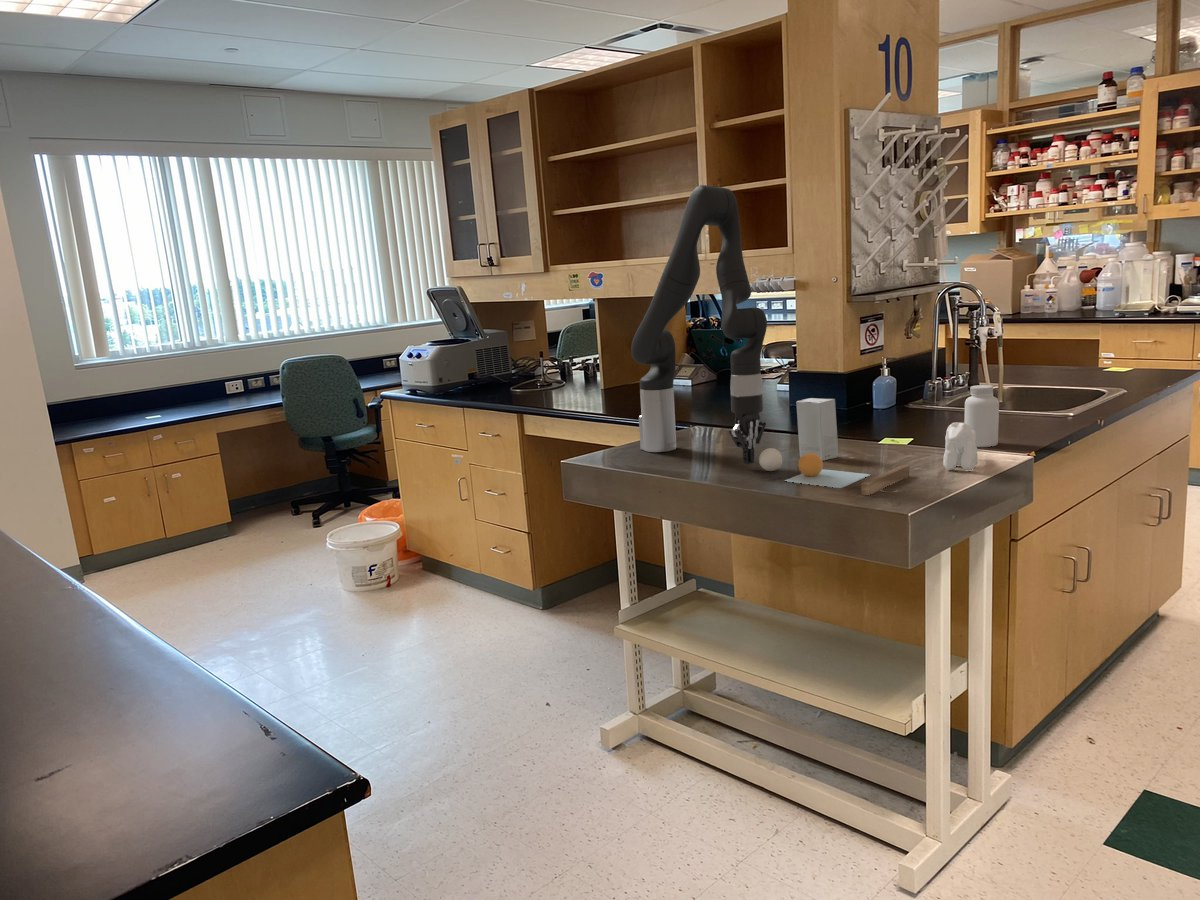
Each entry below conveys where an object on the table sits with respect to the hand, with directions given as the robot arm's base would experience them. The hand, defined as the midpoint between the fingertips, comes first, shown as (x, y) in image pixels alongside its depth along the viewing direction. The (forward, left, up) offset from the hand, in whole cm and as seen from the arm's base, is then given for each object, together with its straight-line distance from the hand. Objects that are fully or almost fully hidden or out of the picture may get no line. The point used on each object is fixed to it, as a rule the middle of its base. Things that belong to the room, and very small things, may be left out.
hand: (748, 463), depth 211 cm
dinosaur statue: (+43, +24, -2) cm, 49 cm away
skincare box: (+8, +19, -2) cm, 21 cm away
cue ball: (+6, +1, +1) cm, 6 cm away
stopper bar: (+35, 0, -2) cm, 35 cm away
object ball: (+17, 0, +1) cm, 17 cm away
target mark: (+21, 0, -2) cm, 21 cm away
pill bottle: (+37, +50, -2) cm, 62 cm away
